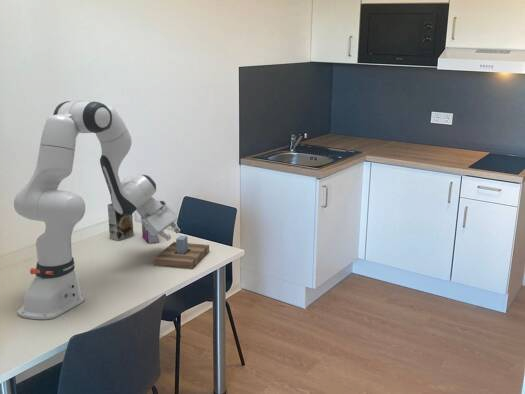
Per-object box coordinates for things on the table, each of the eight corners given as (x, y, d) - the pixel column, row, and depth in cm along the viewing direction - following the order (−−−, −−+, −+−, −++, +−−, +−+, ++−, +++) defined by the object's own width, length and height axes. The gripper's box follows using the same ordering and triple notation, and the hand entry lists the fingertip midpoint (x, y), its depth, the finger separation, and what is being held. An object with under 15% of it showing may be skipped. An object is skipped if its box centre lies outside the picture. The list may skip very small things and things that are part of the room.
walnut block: (192, 269, 219) (191, 262, 218) (154, 265, 223) (154, 258, 222) (209, 251, 238) (209, 244, 237) (174, 248, 242) (173, 241, 241)
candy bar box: (141, 236, 257) (139, 202, 252) (152, 235, 259) (150, 201, 254) (147, 244, 247) (145, 208, 243) (158, 242, 249) (157, 207, 245)
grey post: (184, 260, 228) (183, 239, 226) (177, 260, 229) (176, 239, 226) (188, 256, 232) (187, 236, 230) (181, 256, 233) (180, 235, 231)
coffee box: (118, 241, 251) (116, 206, 247) (109, 238, 255) (106, 204, 250) (134, 236, 258) (132, 202, 254) (125, 233, 262) (122, 200, 257)
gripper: (144, 212, 217) (168, 238, 218) (166, 199, 237) (188, 223, 237) (134, 223, 220) (158, 248, 220) (156, 209, 239) (179, 232, 239)
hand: (174, 235), depth 228 cm, fingers open, 8 cm apart
